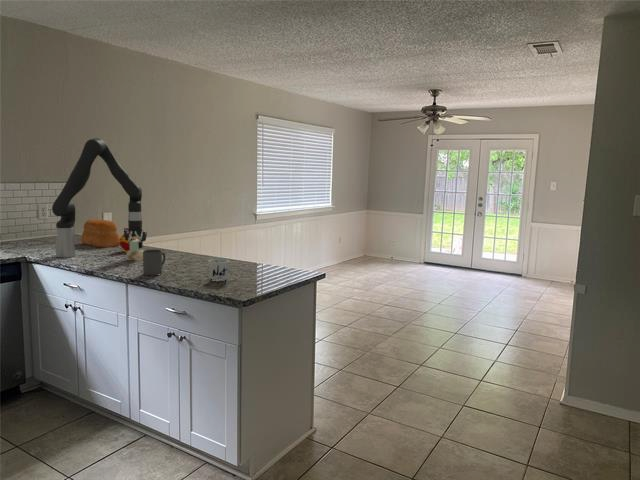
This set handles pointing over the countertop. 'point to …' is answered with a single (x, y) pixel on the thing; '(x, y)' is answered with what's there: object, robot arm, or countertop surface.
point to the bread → (100, 233)
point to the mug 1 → (153, 262)
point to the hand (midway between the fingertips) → (135, 247)
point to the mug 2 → (218, 268)
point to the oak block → (135, 255)
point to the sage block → (135, 246)
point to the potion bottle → (125, 242)
